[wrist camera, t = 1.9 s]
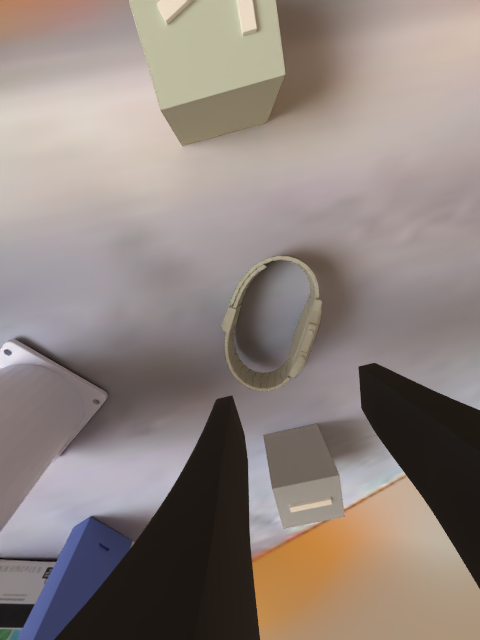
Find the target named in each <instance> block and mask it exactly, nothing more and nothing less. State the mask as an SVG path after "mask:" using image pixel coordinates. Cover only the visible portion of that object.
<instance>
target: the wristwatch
mask: <svg viewBox="0 0 480 640" xmlns="http://www.w3.org/2000/svg"><path fill="white" fill-rule="evenodd" d="M278 260H285V261H291V262H293V263H295V264H298V266H299V267H301V268H302V269H304V272H305V273H306V275H307V276H308V280H309V282H310V291H311V292H310V294H309V297H308V300H307V302H306V304H305V307H304V309H303V311H302V314H301V317H300V320H299V322H298V325H297V328H296V331H295V334H294V337H293V342H292V346H291V350H290V353H289V357H288V361H286V362H285V363H284V364H283V366H281V367H280V368H278V369H277V370H275V371H272V372H268V373H261V372H255V371H253V370H251V369H249V368H248V367H247V366H245V365H244V364H243V363H242V361H241V360H239V357H238V354H237V353H236V348H235V347H234V346H235V343H234V330H235V325H236V323H237V319H238V316H239V313H240V309H241V306H242V300H243V298H244V295H245V293H246V291H247V290H246V289H247V288H248V287H249V285H250V282H251V281H252V280H253V279H254V278H255V276H256V275H258V274H259V273H260V272H261V271H262V270H264V269H266V268H267V267H268V266H267V265H265V264H267V263H270V262H273V261H278ZM233 295H234V296H232V299H231V302H230V305H229V308H228V310H227V312H226V315H225V317H224V320H223V323H222V325H221V328H222V330H223V331H224V332H226V334H225V357H226V361H227V364H228V366H229V369H230V371H231V372H232V374H233V375H234V377H235V378H236V379H238V381H239V382H240V383H241V384H242V385H244V386H246V387H248V388H249V389H251V388H252V389H253V390H256V391H266V392H268V390H269V391H272V390H276V389H277V388H280V387H282V386H284V384H286V383H287V382H288V381H289V380H290V377H294V378H295V377H296V376H297V375H298V373H299V372H300V371H301V370H302V369H303V367H304V366H305V364H306V362H307V359H308V357H309V354H310V351H311V348H312V346H313V343H314V340H315V337H316V334H317V332H318V329H319V326H320V321H321V316H322V309H321V308H322V300H321V299H320V298H319V288H318V283H317V280H316V278H315V275H314V274H313V272H312V271H311V270H310V269H309V267H308V266H307V265H306V264H304V263H303V262H301V261H300V260H298V259H295V258H292V257H288V256H275V257H270V258H267V259H265V260H264V261H260V262H259V263H257V264H256V265H255V266H253V267H252V268H251V269H250V270H249V271H248V272H247V273H246V274H245V275H244V277H243V278H242V280H241V281H240V282H239V284H238V286H237V288H236V290H235V292H234V294H233Z"/></svg>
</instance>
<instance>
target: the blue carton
mask: <svg viewBox="0 0 480 640" xmlns="http://www.w3.org/2000/svg"><path fill="white" fill-rule="evenodd" d="M134 543H135V542H134V541H132V540H130V539H128V538H127V537H125V536H123V535H122V534H120V533H118V532H116V531H115V530H113V529H111V528H109V527H108V526H106V525H104V524H103V523H101V522H99V521H97V520H96V519H94V518H92V517H90V518H88V519H86V520H85V521H83V522H82V523H80V524H79V525H77V526H75V527H74V528H73V530H72V532H71V534H70V536H69V538H68V540H67V542H66V544H65V546H64V548H63V550H62V551H61V553H60V555H59V557H58V559H57V561H56V563H55V565H54V567H53V569H52V571H51V573H50V575H49V577H48V579H47V581H46V583H45V585H44V587H43V589H42V591H41V593H40V595H39V597H38V599H37V601H36V603H35V605H34V607H33V609H32V611H31V613H30V615H29V617H28V619H27V621H26V623H25V625H24V627H23V629H22V631H21V633H20V635H19V637H18V639H17V640H54V639H55V638H56V637H57V636H58V634H59V633H60V632H61V631H62V630H63V629H64V628H65V626H66V625H67V624H68V623H69V622H70V621H71V620H72V619H73V617H74V616H75V615H76V614H77V613H78V612H79V611H80V610H81V608H82V607H83V606H84V605H85V604H86V603H87V602H88V600H89V599H90V598H91V597H92V596H93V594H94V593H95V592H96V591H97V590H98V588H99V587H100V586H101V585H102V584H103V582H104V581H105V580H106V579H107V577H108V576H109V575H110V573H111V572H112V571H113V570H114V568H115V567H116V566H117V565H118V563H119V562H120V561H121V560H122V558H123V557H124V556H125V555H126V553H127V552H128V551H129V549H130V548H131V547H132V546H133V544H134Z"/></svg>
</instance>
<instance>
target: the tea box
mask: <svg viewBox="0 0 480 640" xmlns="http://www.w3.org/2000/svg"><path fill="white" fill-rule="evenodd" d="M55 563H56V562H41V561H21V560H3V559H0V640H17V639H18V637H19V635H20V633H21V631H22V629H23V627H24V625H25V623H26V621H27V619H28V617H29V615H30V613H31V611H32V609H33V607H34V605H35V603H36V601H37V599H38V597H39V595H40V593H41V591H42V589H43V587H44V585H45V583H46V581H47V579H48V577H49V575H50V573H51V571H52V569H53V567H54V565H55Z"/></svg>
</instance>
